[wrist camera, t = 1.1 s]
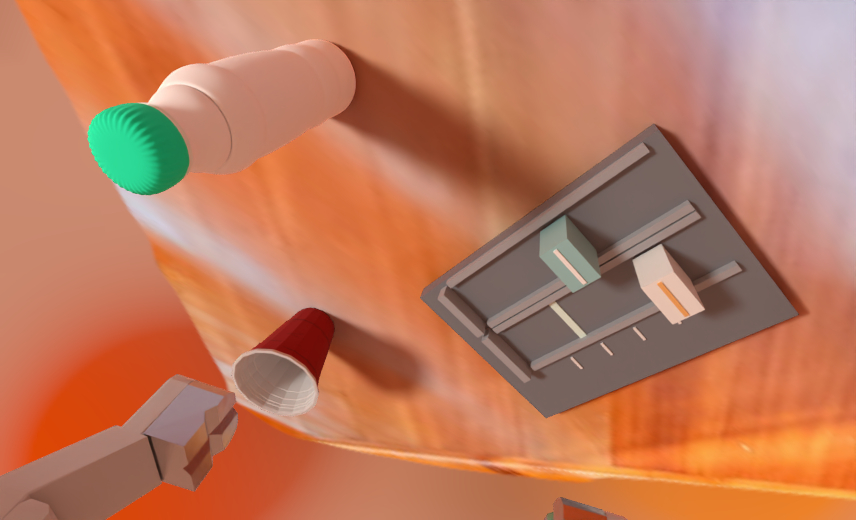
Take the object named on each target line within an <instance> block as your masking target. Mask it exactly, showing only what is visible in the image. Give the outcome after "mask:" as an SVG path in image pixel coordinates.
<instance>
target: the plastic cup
mask: <svg viewBox="0 0 856 520" xmlns="http://www.w3.org/2000/svg"><path fill="white" fill-rule="evenodd" d="M334 329H335V328H334V324H333V321H332V320H331V319H330V317H329V316H328V315H327V314H325V313H324V312H323V311H320V310H318V309H316V308H306V309H303V310H301V311H299V312H298V313H296V314H295V315H294V316H293V317H292V318H291V319H290V320H288V321H286V322H285V323H284V324H283V325H281V326H280V327H279V328H278V329H277V330H276V331H274V332H273V333H272V334H271V335H270V336H269V337H267V338H266V339H265V340H264V341H263V342H262V343H259V344H258V345H257V346H256V347H254V348H253V349H252V350H250V351H248V352H245V353H243V354H241V355H240V356H239V357H238V359H237V360H236V361H235V362H234V363H233V367H232V378H233V381H234V383H235V386H236V388H237V389H238V391H239V392H240V393H241V394H242V395H243V396H244V397H245V398H246V400H247V401H249V402H251V403H252V404H254V405H255V406H257V407H258V408H260V409H261V410H264V411H267V412H270V413H273V414H276V415H282V416H297V415H301V414H305V413H307V412H308V411H310V410H311V409H312V408H313V407H314V406H315V405H316V402H317V399H318V395H319V389H318V382H319V377H320V374H321V371H322V368H323V365H324V362H325V359H326V356H327V354H328V350H329V346H330V344H331V341H332V338H333V335H334Z"/></svg>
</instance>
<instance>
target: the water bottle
mask: <svg viewBox="0 0 856 520" xmlns="http://www.w3.org/2000/svg"><path fill="white" fill-rule="evenodd" d="M355 89H356V79H355V73H354V70H353V67H352V65H351V62H350V61H349V59H348V57H347V56H346V55H345V53H344V52H343V51H342V50H341V49H340V48H338V47H337V46H336V45H334V44H332V43H330V42H328V41H325V40H320V39H311V40H306V41H302V42H299V43H297V44H289V45H284V46H280V47H277V48H275V49H273V50H264V51H256V52H250V53H245V54H240V55H236V56H231V57H228V58H224V59H220V60H217V61H214V62H211V63H208V64H191V65H187V66H184V67H181V68H179V69H177V70H175V71H174V72H172V73H171V74H170V75H169V76H168V77H167V78H166V79H165V80H164V81H163V83H162V84H161V86H160V87H159V89H158V91H157V92H156V93H155V94H154V95H153V96H152V97H151V99H150V100H149V102H148V103H127V104H121V105H118V106H114V107H111V108H108V109H105V110H104V111H102V112H101V113H99V114H97V115H96V116H95V118H94V119H93V120H92V122H91V124H90V126H89V130H88V136H89V137H88V141H89V143H90V144H89V147H90V148H91V149H92V154H93V155H94V156H95V161H97V162H98V165H99V167H101V168H102V171H103V173H105V174H107V176H108V178H110V179H112V180H113V182H114V183H116V184H118V185H119V186H120V187H122V188H124V189H126V190H127V191H131V192H132V193H135V194H140V195H152V194H157V193H161V192H163V191H165V190H167V189H169V188H171V187H173V186H174V185H176V184H177V183H178V182H180V181H181V180H182V179H183V178H184V177H185V176H187V175H188V173H189V172H194V173H210V174H220V175H223V174H232V173H236V172H239V171H242V170H244V169H246V168H247V167H249V166H250V165H252V164H253V163H254V162H255V161H256V160H257V159H258V158H261V157H263V156H265V155H267V154H270V153H272V152H273V151H275V150H277V149H279V148H281V147H283V146H284V145H286V144H288V143H289V142H291V141H293V140H294V139H296V138H297V137H299V136H300V135H302V134H303V133H305V132H306V131H307V130H308V129H311V128H314V127H316V126H318V125H320V124H322V123H323V122H325V121H326V120H327V119H329V118H332V117H334V116H336V115H338V114H339V113H341V112H342V111H344V110H345V109H346V108H347V107H348V106H349V105H350V103H351V101H352V99H353V97H354V94H355Z"/></svg>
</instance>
